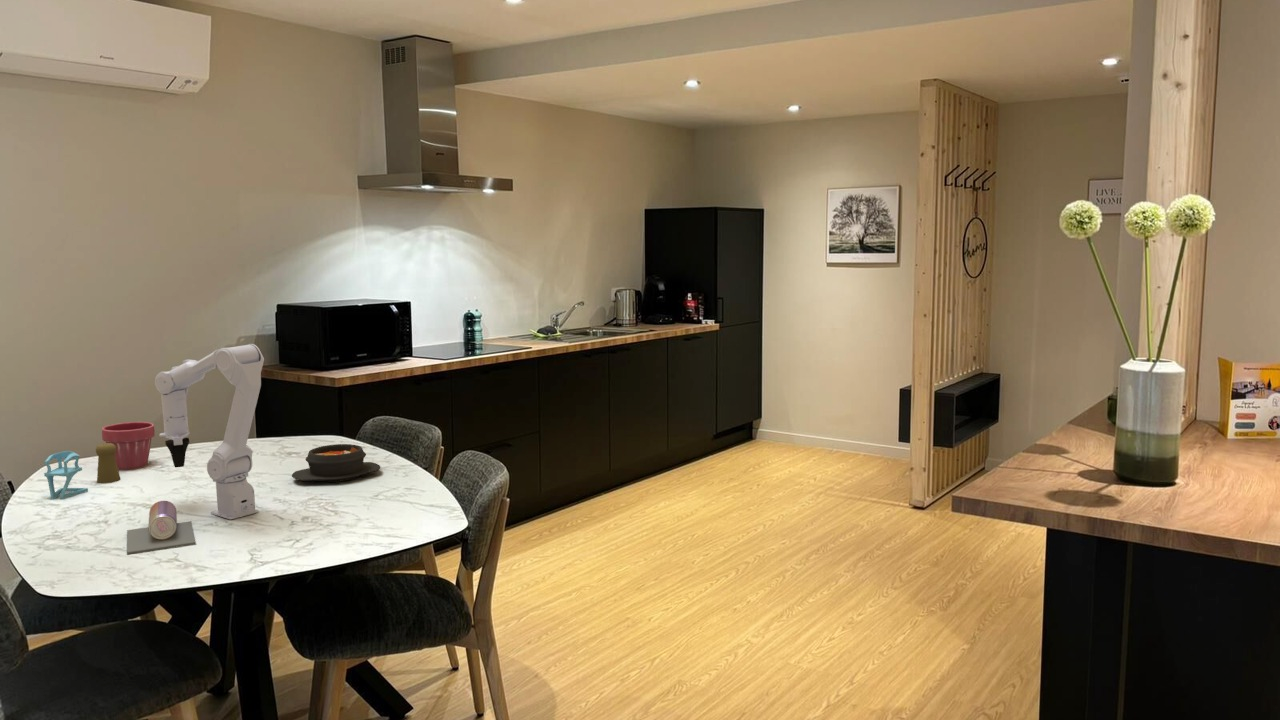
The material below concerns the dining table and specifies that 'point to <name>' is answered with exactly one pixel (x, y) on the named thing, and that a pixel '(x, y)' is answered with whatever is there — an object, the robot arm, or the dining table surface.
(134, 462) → the plant pot
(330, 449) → the casserole
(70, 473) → the chair
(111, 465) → the cork
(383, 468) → the dining table surface
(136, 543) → the mat
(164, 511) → the beverage can
